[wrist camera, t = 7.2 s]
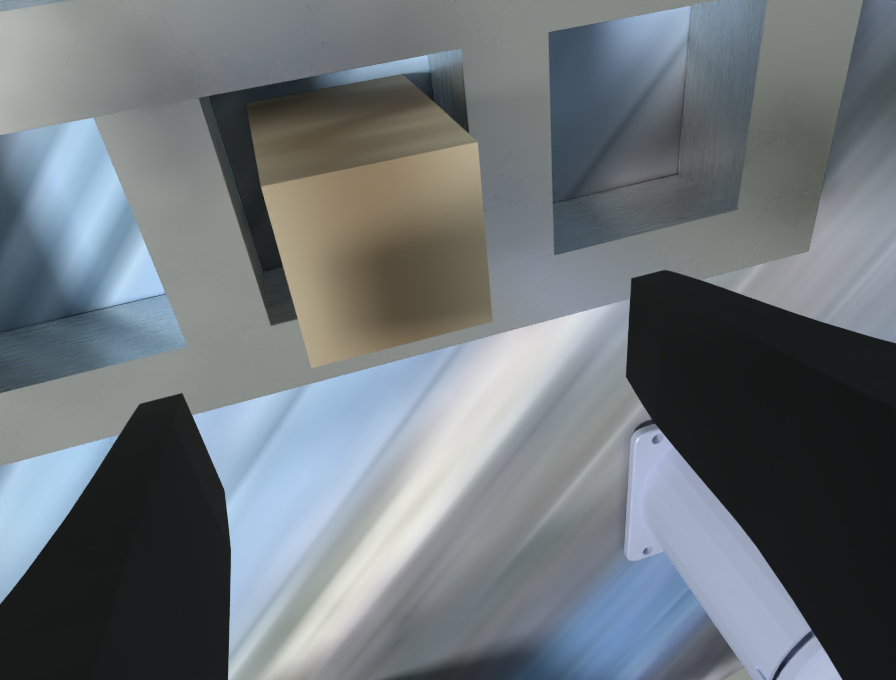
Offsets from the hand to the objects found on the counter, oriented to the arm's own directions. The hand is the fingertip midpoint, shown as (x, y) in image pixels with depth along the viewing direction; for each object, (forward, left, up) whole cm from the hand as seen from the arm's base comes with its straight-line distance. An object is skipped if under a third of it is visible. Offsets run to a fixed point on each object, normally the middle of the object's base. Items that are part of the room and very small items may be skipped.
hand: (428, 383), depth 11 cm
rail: (0, -1, -9) cm, 9 cm away
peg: (0, 0, -9) cm, 9 cm away
